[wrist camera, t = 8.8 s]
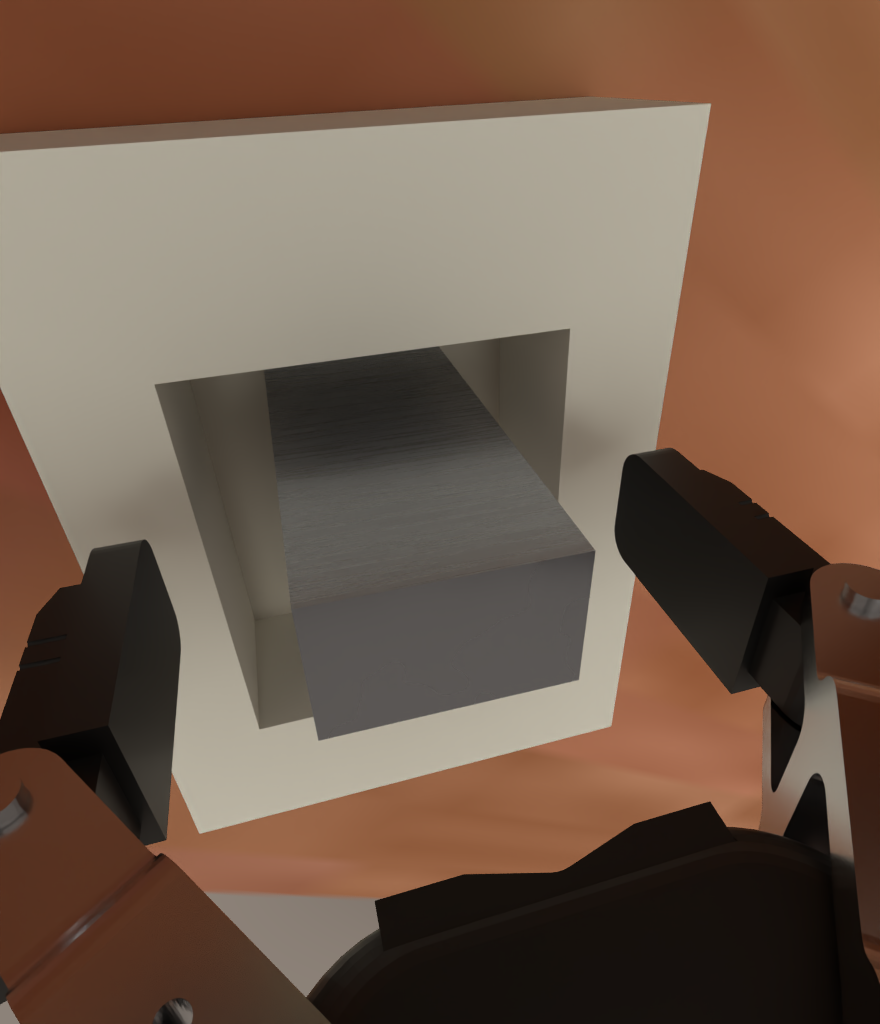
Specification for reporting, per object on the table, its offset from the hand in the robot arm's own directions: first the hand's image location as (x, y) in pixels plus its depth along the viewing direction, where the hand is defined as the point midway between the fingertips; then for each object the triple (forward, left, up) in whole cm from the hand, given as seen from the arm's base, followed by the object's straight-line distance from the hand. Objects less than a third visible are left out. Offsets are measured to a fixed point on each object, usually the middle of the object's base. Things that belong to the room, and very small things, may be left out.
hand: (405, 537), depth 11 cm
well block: (+2, 0, -7) cm, 7 cm away
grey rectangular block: (+2, 0, -6) cm, 7 cm away
